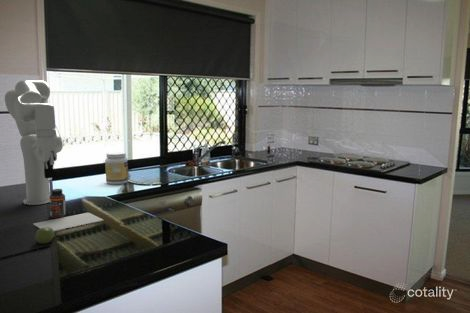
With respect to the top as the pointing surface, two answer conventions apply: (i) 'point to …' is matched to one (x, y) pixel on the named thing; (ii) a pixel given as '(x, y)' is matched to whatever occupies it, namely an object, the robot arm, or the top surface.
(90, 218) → the mat
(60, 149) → the robot arm
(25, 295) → the top surface
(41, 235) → the pear
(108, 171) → the supplement tub
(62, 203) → the supplement bottle
